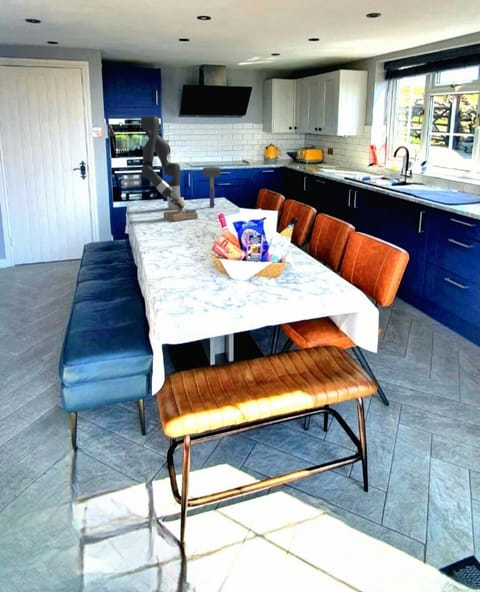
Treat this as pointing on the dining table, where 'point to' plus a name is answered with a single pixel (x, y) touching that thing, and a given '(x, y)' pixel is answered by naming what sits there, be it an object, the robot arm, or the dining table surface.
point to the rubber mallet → (211, 180)
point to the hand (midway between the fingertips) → (182, 207)
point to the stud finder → (191, 211)
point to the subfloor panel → (180, 215)
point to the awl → (181, 201)
